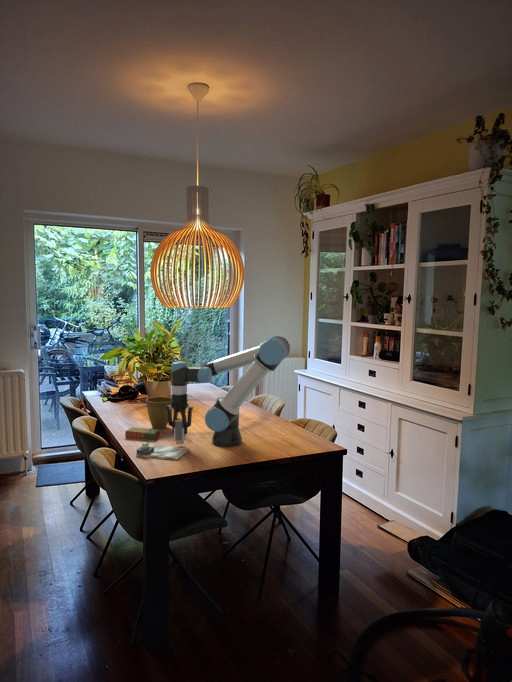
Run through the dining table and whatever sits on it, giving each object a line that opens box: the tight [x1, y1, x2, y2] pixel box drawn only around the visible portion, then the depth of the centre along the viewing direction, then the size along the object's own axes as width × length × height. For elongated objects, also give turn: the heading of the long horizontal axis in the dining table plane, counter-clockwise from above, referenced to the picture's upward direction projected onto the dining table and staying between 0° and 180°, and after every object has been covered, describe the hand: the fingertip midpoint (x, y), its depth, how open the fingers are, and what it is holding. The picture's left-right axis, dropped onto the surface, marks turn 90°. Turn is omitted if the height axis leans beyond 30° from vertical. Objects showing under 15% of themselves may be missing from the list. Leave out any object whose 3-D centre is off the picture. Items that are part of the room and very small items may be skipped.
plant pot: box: [145, 396, 173, 430], centre depth 277 cm, size 15×15×16 cm
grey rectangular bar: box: [175, 417, 185, 445], centre depth 245 cm, size 4×4×12 cm
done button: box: [141, 441, 150, 450], centre depth 232 cm, size 3×3×3 cm
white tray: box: [136, 443, 189, 461], centre depth 235 cm, size 20×15×3 cm
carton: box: [124, 426, 161, 442], centre depth 259 cm, size 8×16×4 cm, turn 79°
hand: (179, 440), depth 245 cm, fingers closed on grey rectangular bar, 3 cm apart
